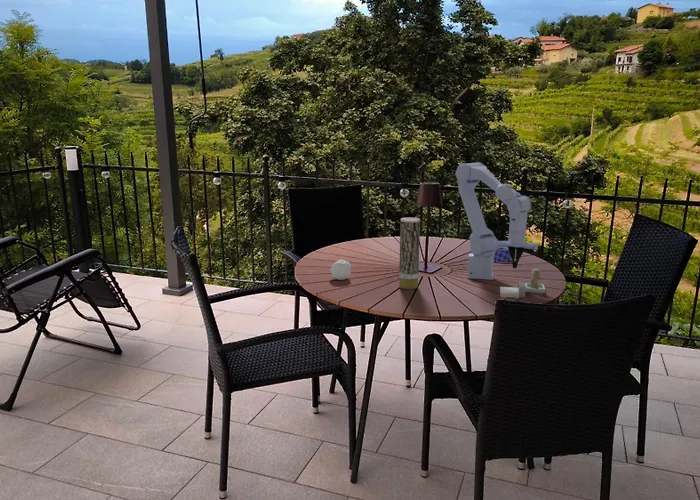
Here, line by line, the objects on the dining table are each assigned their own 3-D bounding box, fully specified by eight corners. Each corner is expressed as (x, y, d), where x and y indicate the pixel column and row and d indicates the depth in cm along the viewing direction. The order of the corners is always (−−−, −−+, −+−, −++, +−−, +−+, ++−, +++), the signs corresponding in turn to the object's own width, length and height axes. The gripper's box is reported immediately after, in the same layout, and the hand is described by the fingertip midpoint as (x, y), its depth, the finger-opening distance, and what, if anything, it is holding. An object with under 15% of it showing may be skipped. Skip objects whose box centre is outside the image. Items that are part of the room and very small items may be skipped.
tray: (525, 292, 194) (526, 288, 193) (524, 286, 200) (524, 282, 199) (544, 293, 192) (545, 289, 192) (543, 288, 198) (543, 284, 198)
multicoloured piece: (522, 262, 234) (523, 250, 233) (500, 265, 229) (501, 253, 228) (502, 255, 245) (503, 244, 244) (481, 259, 239) (482, 247, 238)
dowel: (530, 289, 195) (532, 270, 193) (530, 287, 197) (532, 268, 196) (538, 290, 194) (540, 271, 192) (538, 288, 197) (540, 269, 195)
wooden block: (518, 297, 188) (519, 286, 187) (517, 292, 193) (518, 281, 192) (524, 297, 188) (525, 286, 187) (523, 293, 192) (524, 282, 192)
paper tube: (405, 283, 204) (407, 216, 198) (421, 287, 199) (423, 218, 193) (395, 287, 199) (396, 219, 193) (411, 291, 194) (413, 221, 188)
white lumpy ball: (347, 275, 213) (347, 256, 212) (354, 281, 206) (354, 261, 205) (328, 277, 211) (327, 258, 209) (334, 283, 204) (334, 263, 202)
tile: (500, 298, 189) (500, 292, 188) (499, 292, 195) (500, 286, 195) (518, 299, 187) (518, 294, 187) (517, 293, 194) (517, 287, 194)
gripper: (496, 231, 194) (493, 268, 197) (539, 234, 190) (536, 271, 194) (496, 227, 201) (493, 263, 204) (538, 230, 197) (535, 266, 200)
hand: (514, 267), depth 199 cm, fingers closed
